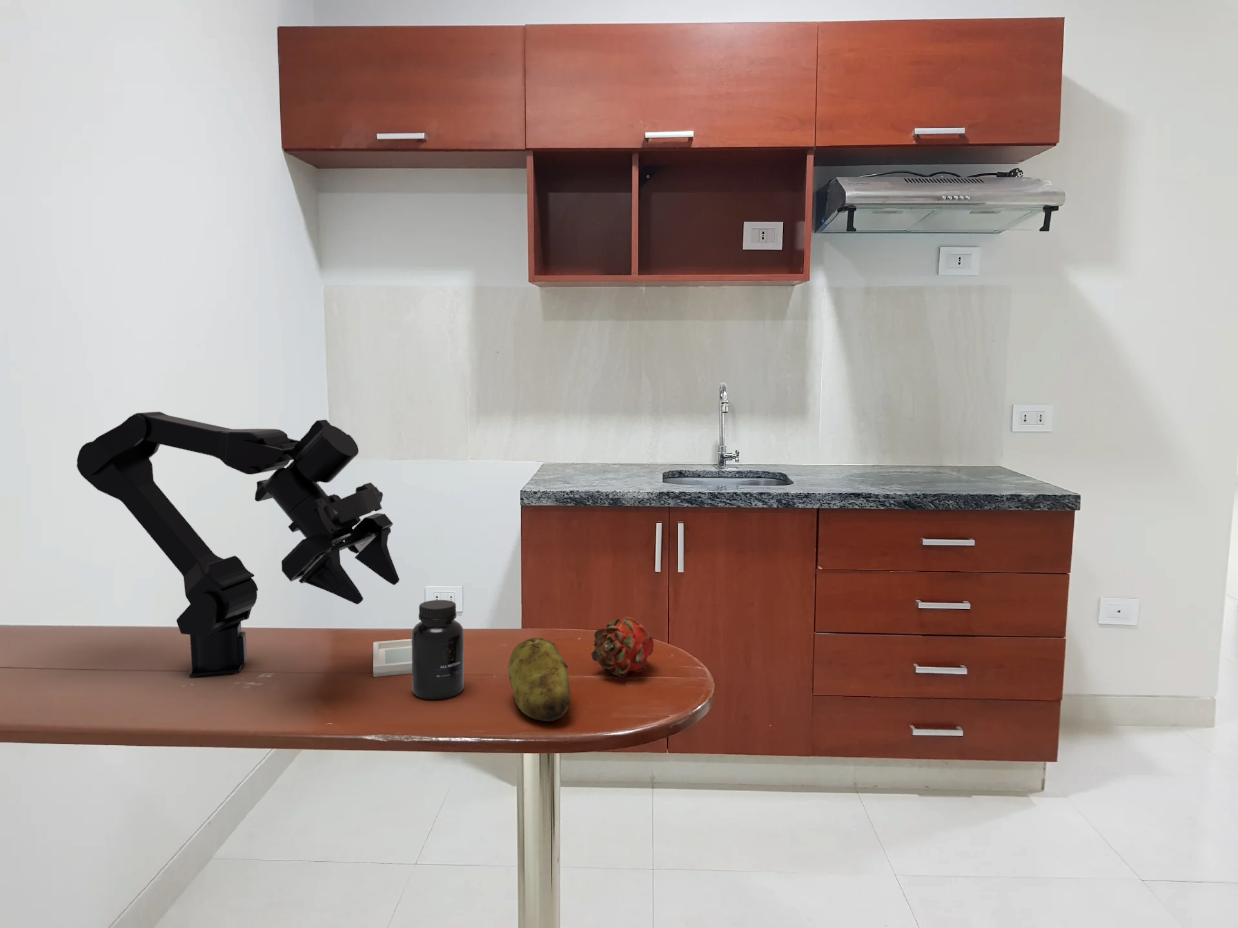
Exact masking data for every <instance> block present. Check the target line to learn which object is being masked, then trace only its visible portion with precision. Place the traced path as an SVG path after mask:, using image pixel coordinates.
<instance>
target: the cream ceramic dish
mask: <svg viewBox="0 0 1238 928" xmlns="http://www.w3.org/2000/svg"><path fill="white" fill-rule="evenodd" d="M372 646H373V648H372V649H373V651H372V652H373V656H372V657H373V658H372V659H373V661H372V663H373V664H372V666H373V667H372V670H373V672H372V673H373V678H378V677H387V676H389V677H391V676H398V675H412V638H409V639H408V638H407V639H398V640H397V639H396V640H394V639H393V640H384V641H383V640H382V641H381V640H380V641H373V645H372Z"/></svg>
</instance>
